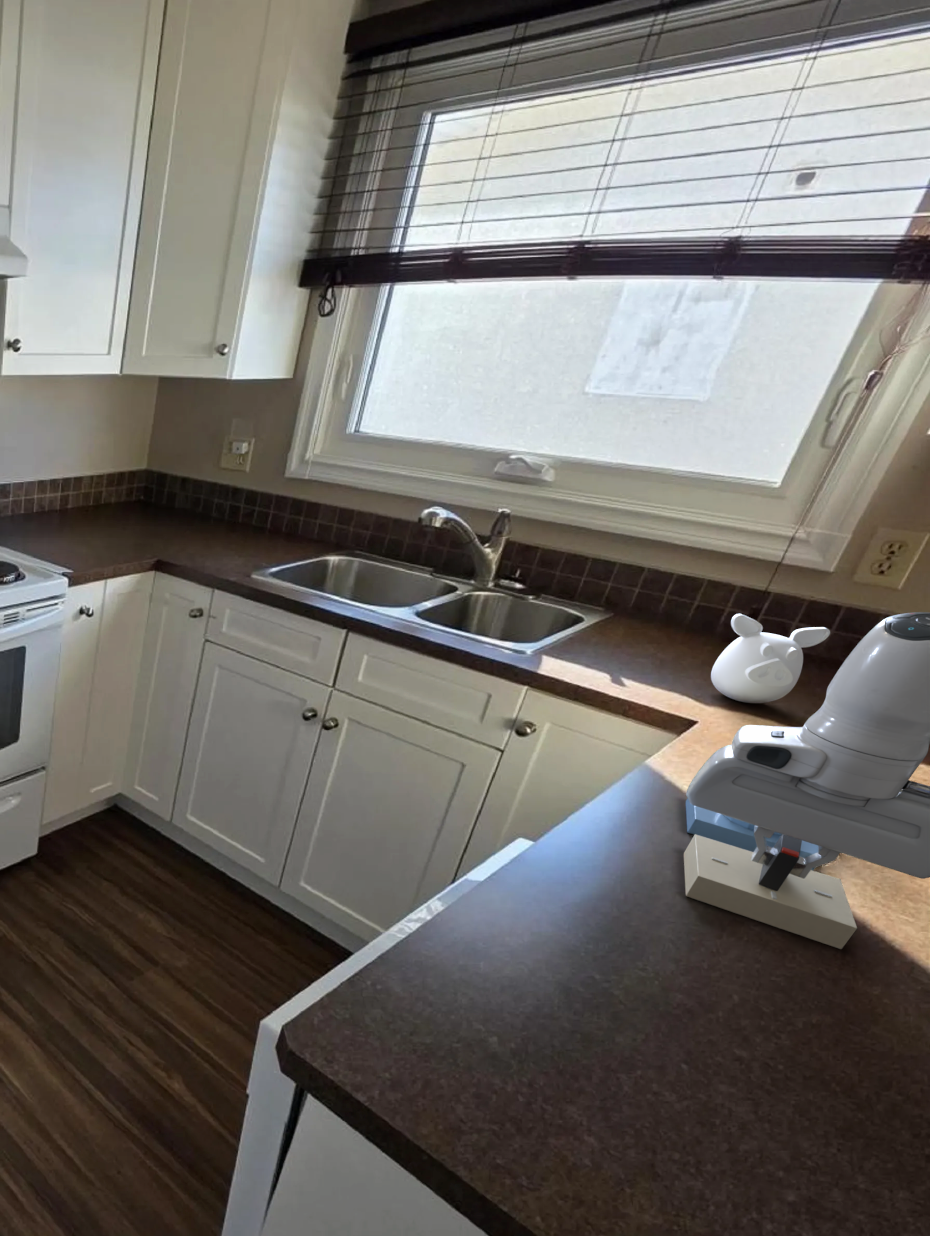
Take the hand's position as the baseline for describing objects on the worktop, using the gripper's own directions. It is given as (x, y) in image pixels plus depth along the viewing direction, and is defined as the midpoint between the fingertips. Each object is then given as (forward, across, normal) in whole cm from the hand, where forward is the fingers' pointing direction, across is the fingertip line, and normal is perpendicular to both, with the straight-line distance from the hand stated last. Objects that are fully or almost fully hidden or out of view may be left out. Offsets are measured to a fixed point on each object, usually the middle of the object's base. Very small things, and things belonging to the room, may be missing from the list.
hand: (776, 867), depth 91 cm
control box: (+4, 0, 0) cm, 4 cm away
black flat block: (+1, 0, 0) cm, 1 cm away
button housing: (+5, +2, -17) cm, 18 cm away
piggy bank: (+5, +4, -75) cm, 75 cm away
